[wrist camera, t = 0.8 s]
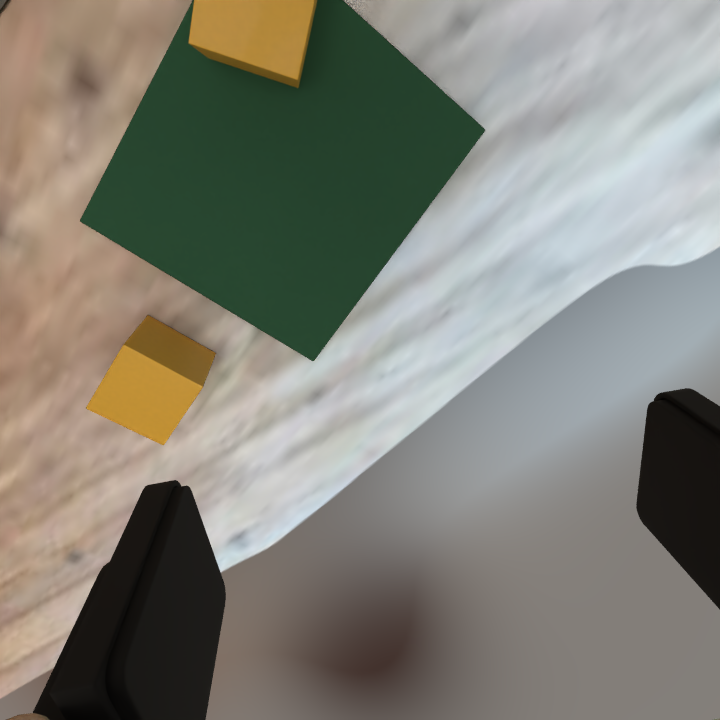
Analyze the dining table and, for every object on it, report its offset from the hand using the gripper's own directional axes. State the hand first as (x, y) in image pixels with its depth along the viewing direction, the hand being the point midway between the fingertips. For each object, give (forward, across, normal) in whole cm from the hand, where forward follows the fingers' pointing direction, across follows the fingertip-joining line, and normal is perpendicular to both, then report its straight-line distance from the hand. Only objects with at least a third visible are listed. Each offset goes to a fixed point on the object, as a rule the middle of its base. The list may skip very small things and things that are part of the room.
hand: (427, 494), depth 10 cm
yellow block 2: (+30, +2, -14) cm, 33 cm away
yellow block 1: (+31, +16, +8) cm, 36 cm away
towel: (+31, +3, -5) cm, 31 cm away
